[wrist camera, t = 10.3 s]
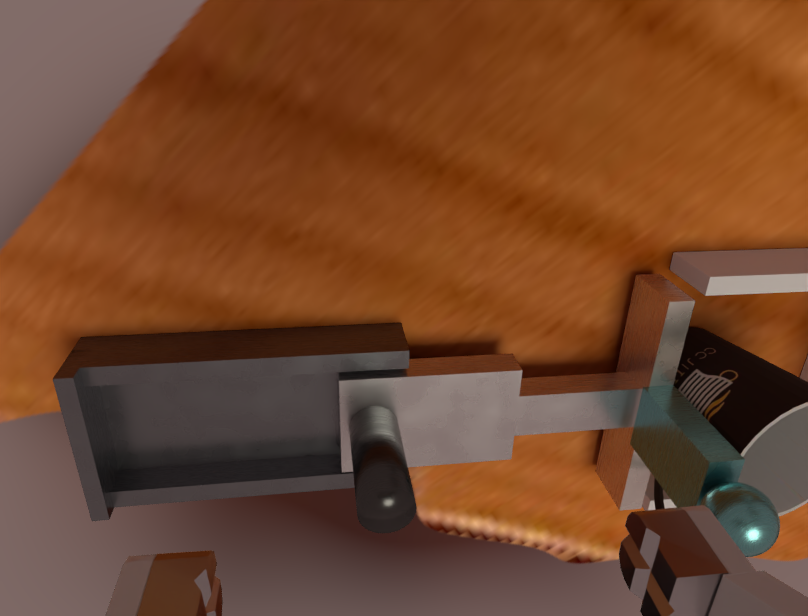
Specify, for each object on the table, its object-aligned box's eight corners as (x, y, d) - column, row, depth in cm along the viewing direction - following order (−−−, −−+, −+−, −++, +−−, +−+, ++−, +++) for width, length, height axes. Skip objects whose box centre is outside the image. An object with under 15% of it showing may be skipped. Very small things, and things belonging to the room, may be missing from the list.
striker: (671, 273, 39) (853, 407, 26) (625, 468, 46) (750, 650, 33) (334, 285, 36) (350, 443, 23) (340, 492, 43) (355, 701, 30)
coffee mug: (719, 289, 40) (854, 370, 32) (741, 376, 45) (865, 467, 36) (569, 381, 41) (664, 486, 32) (606, 459, 45) (698, 568, 36)
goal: (863, 246, 41) (1018, 313, 32) (781, 461, 49) (886, 562, 40) (673, 252, 39) (781, 325, 30) (621, 475, 47) (694, 584, 38)
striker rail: (401, 322, 38) (412, 359, 34) (398, 448, 43) (407, 494, 39) (81, 337, 36) (52, 379, 32) (113, 469, 40) (91, 521, 36)
